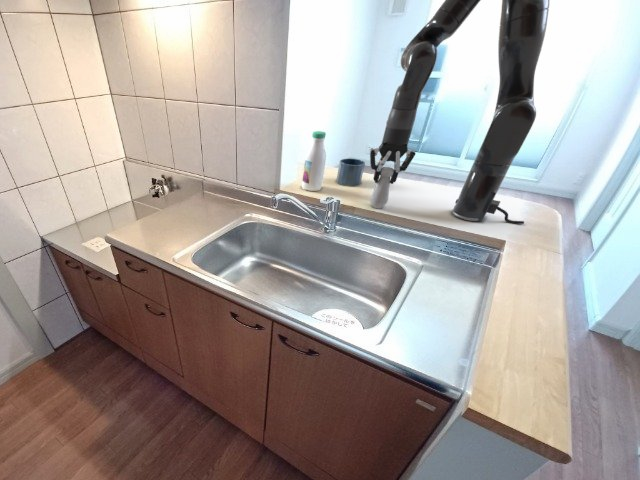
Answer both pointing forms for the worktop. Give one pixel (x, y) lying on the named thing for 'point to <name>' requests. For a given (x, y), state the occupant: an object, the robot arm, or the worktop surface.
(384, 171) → the salt shaker
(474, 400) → the worktop surface
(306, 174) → the milk bottle
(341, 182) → the cup
